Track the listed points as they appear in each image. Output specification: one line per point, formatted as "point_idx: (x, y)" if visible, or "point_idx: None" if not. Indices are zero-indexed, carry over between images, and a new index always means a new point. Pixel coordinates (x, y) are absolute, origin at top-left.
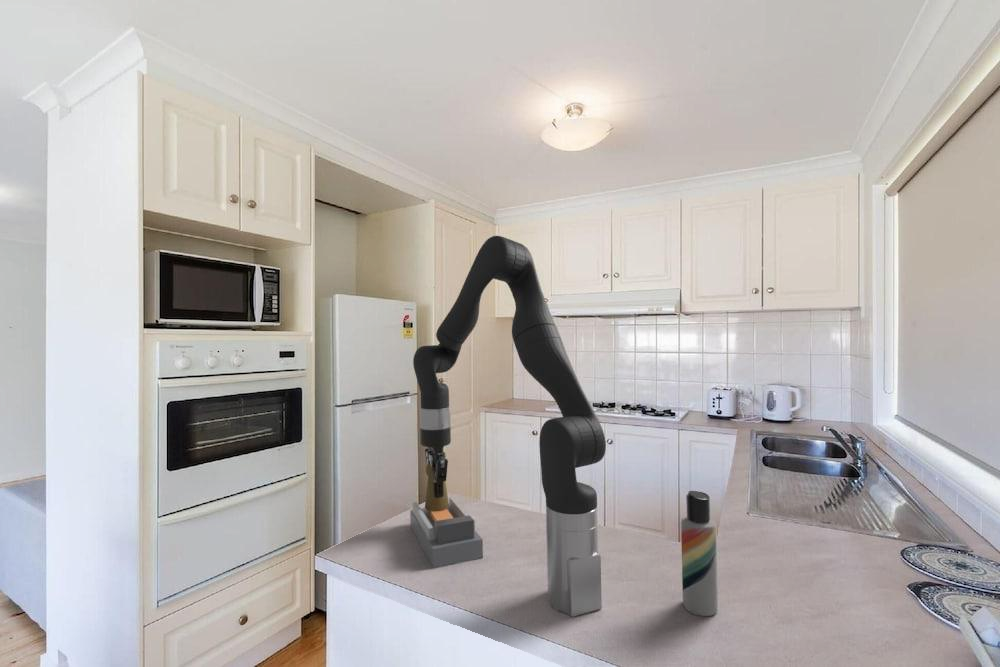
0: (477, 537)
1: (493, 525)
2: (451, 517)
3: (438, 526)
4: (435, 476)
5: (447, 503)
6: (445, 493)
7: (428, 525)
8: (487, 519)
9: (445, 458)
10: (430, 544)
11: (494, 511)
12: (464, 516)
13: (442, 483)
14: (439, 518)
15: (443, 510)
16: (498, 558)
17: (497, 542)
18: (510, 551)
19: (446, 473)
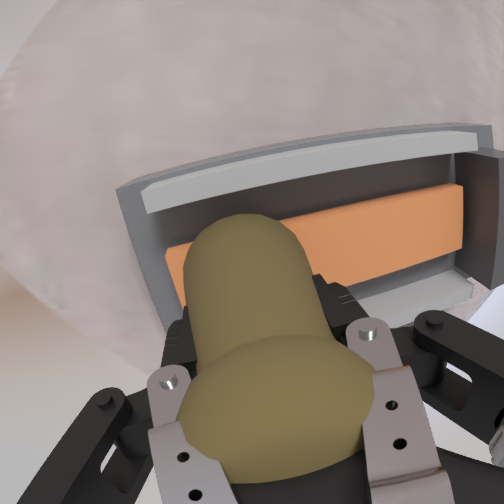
0: (480, 135)
1: (242, 23)
2: (387, 209)
3: None
4: (426, 400)
5: (279, 228)
6: (296, 261)
7: (453, 301)
8: (174, 37)
9: (445, 472)
10: (470, 276)
11: (101, 14)
12: (501, 180)
13: (348, 319)
14: (380, 261)
15: (301, 243)
16: (463, 87)
17: (384, 50)
18: (437, 43)
19: (496, 339)
